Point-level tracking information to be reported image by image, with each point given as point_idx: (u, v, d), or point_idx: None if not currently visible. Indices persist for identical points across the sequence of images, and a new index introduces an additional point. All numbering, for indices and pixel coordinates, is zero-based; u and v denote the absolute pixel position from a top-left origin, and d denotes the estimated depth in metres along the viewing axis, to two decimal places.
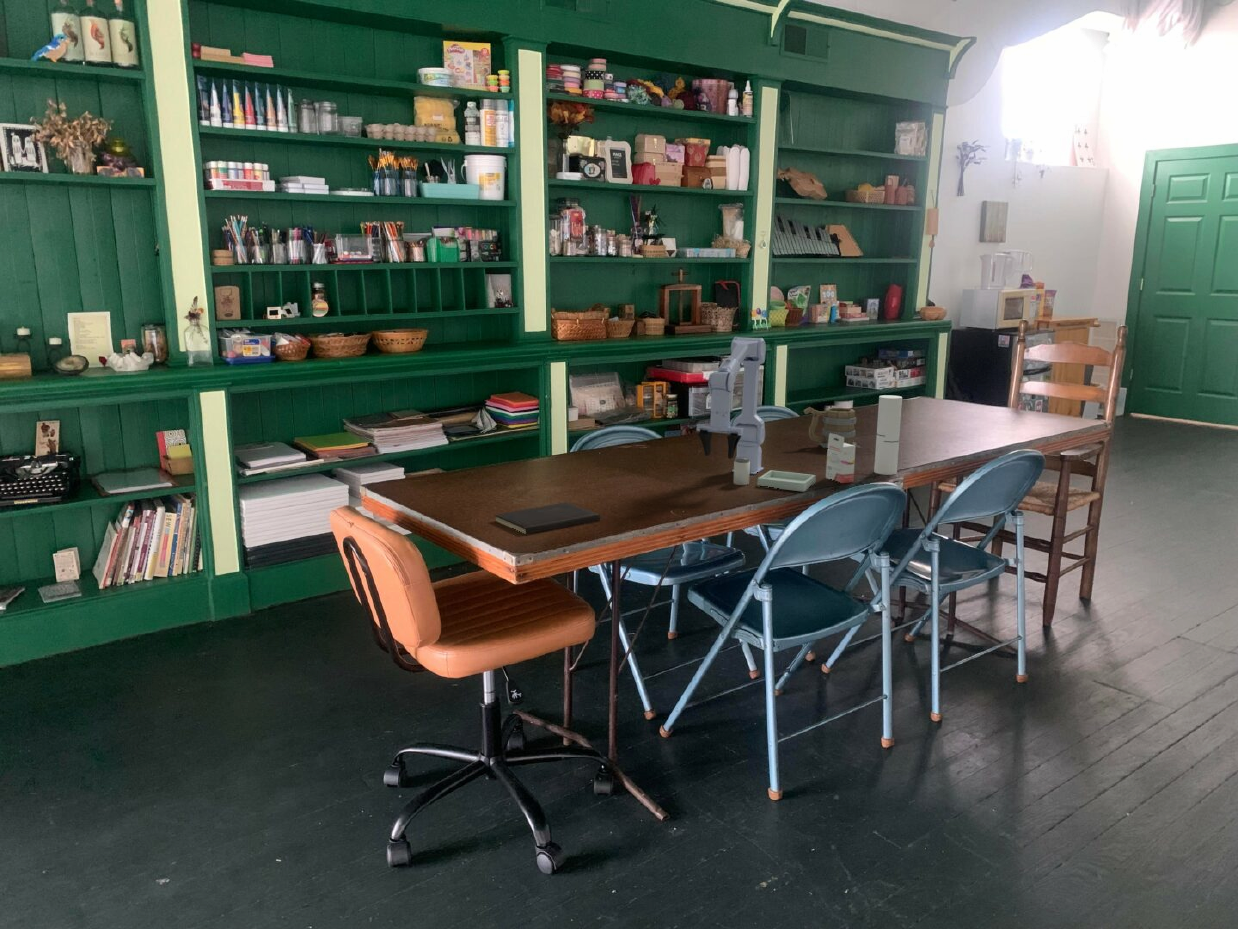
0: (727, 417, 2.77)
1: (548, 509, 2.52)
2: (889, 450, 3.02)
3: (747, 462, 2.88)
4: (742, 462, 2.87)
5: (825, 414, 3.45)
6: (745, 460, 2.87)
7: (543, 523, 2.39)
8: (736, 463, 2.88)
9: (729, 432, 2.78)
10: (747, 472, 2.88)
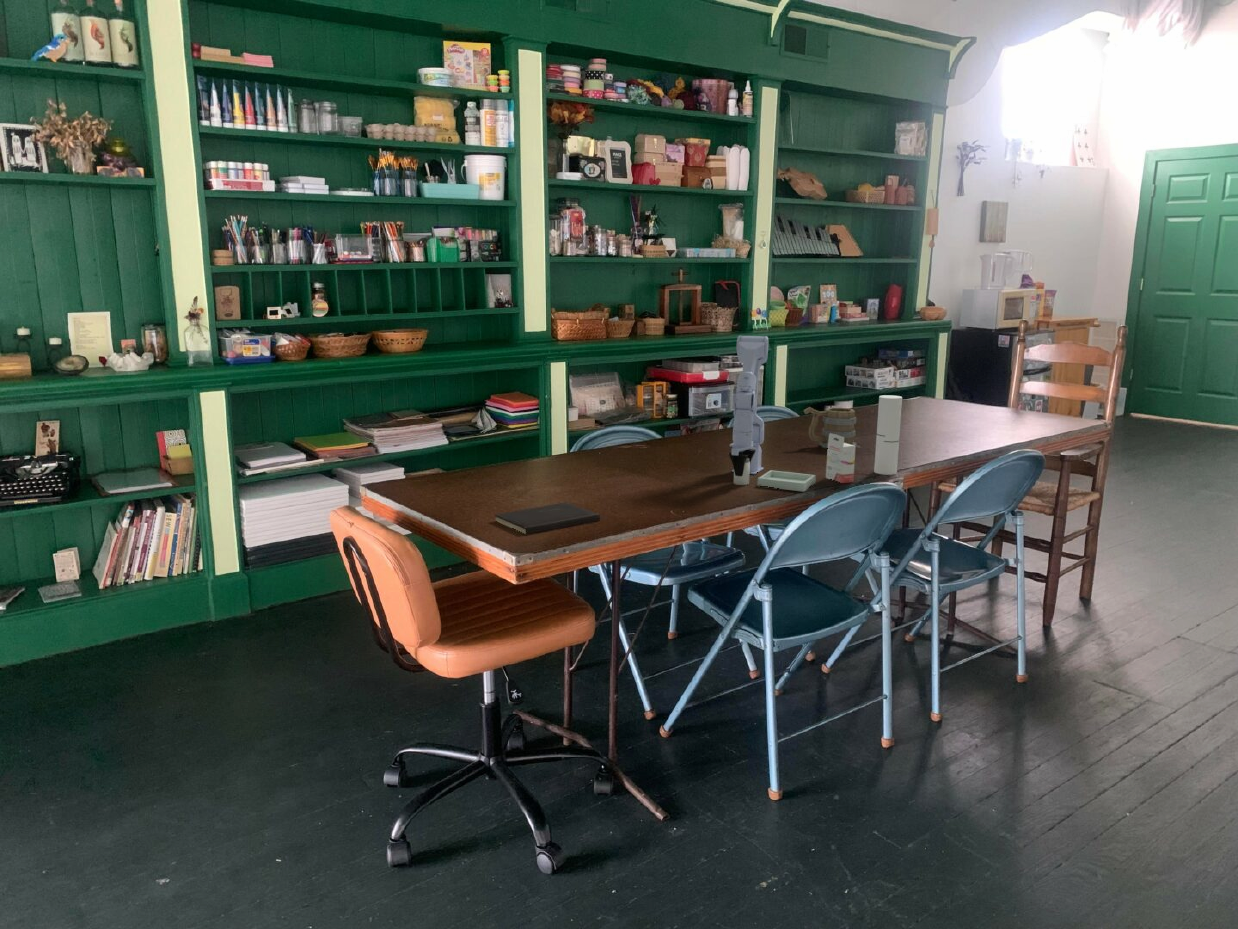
0: (737, 436, 2.86)
1: (548, 509, 2.53)
2: (889, 450, 3.02)
3: (747, 462, 2.88)
4: None
5: (825, 414, 3.45)
6: None
7: (543, 523, 2.39)
8: None
9: None
10: (747, 472, 2.88)
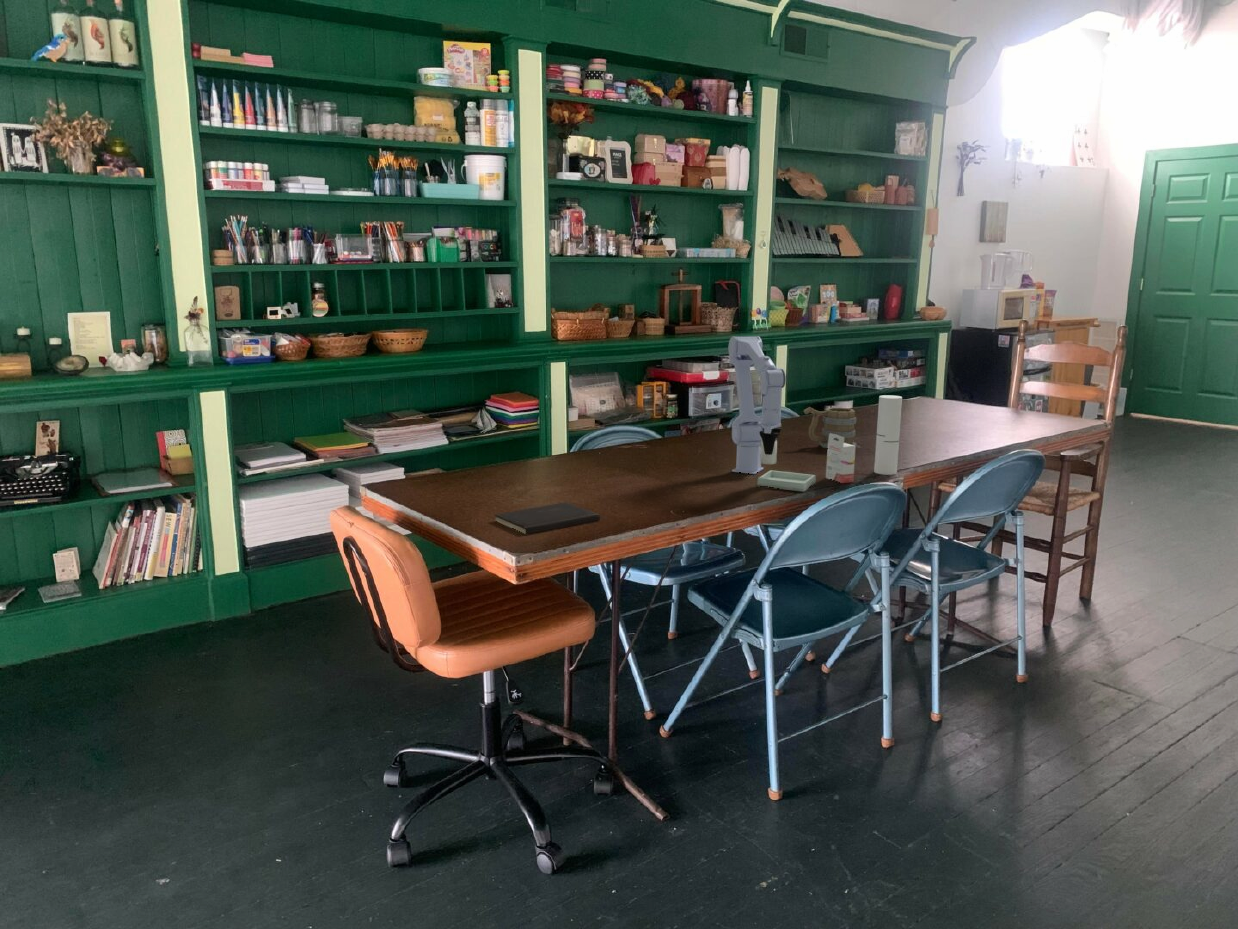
0: (767, 414, 2.83)
1: (548, 509, 2.53)
2: (889, 450, 3.02)
3: (775, 441, 2.86)
4: None
5: (825, 414, 3.45)
6: None
7: (543, 523, 2.39)
8: None
9: None
10: (775, 451, 2.86)
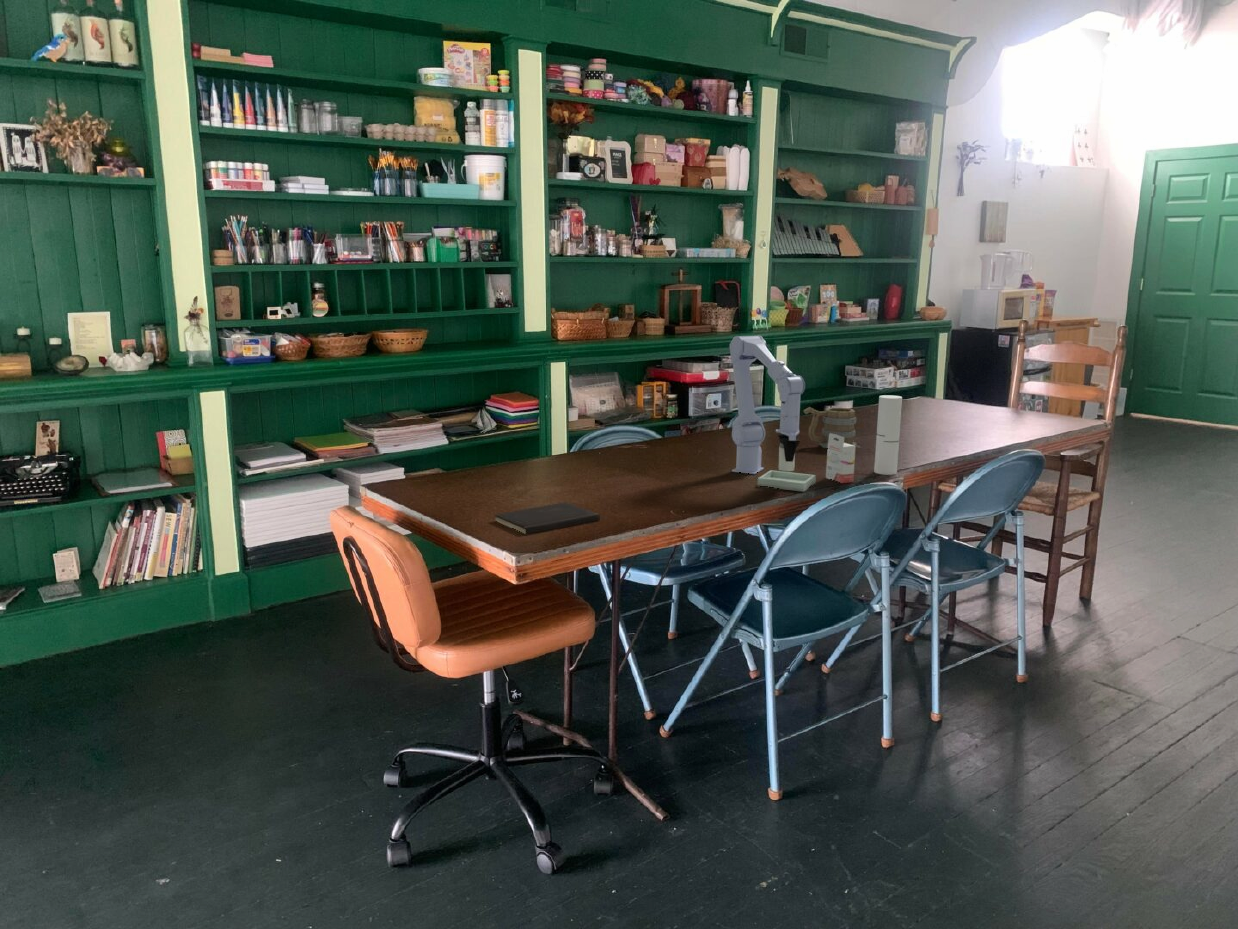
0: (788, 421, 2.83)
1: (548, 509, 2.53)
2: (889, 450, 3.02)
3: None
4: None
5: (825, 414, 3.45)
6: None
7: (543, 523, 2.39)
8: None
9: None
10: (794, 457, 2.87)
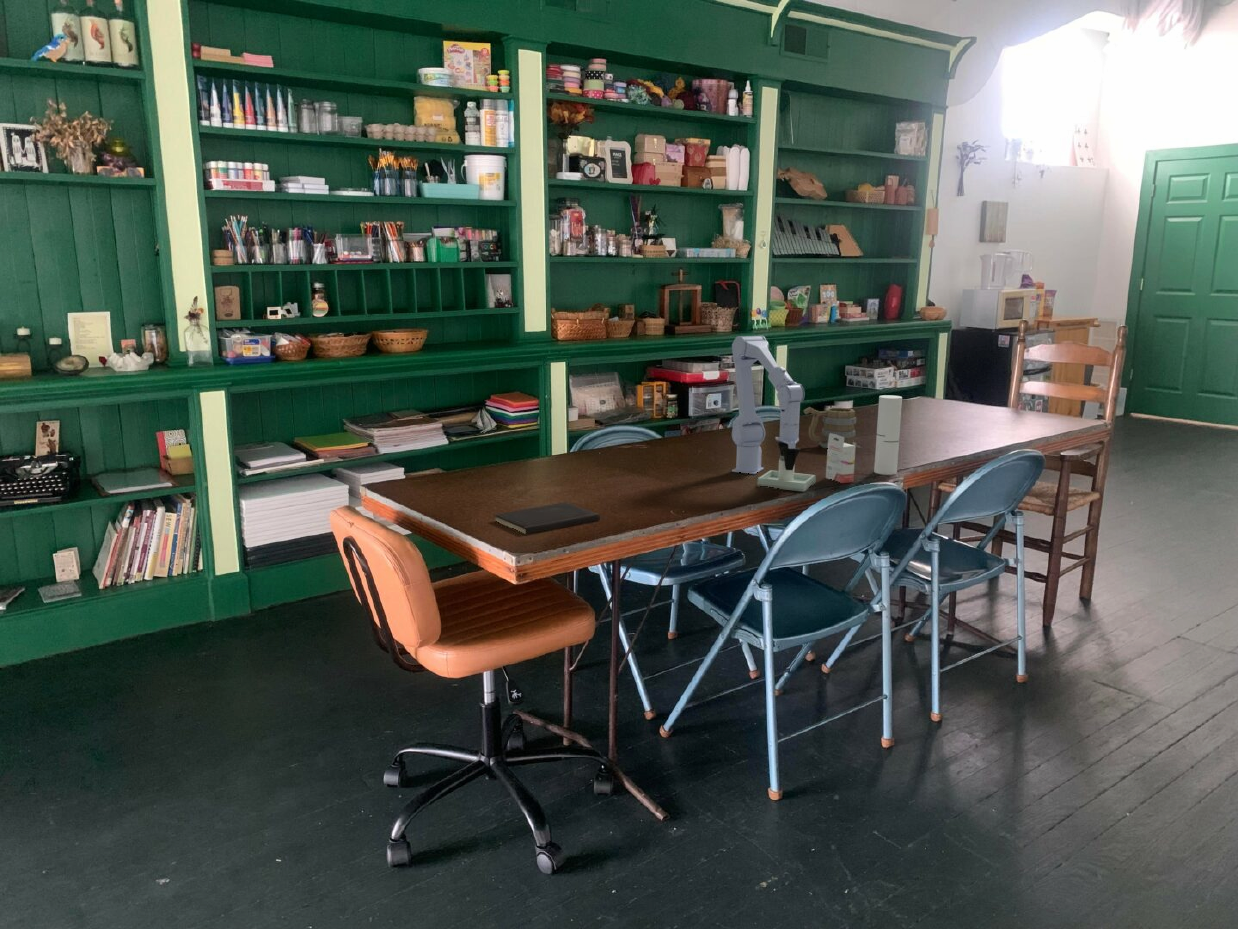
0: (788, 429, 2.83)
1: (548, 509, 2.53)
2: (889, 450, 3.02)
3: None
4: None
5: (825, 414, 3.45)
6: None
7: (543, 523, 2.39)
8: (784, 462, 2.86)
9: None
10: None
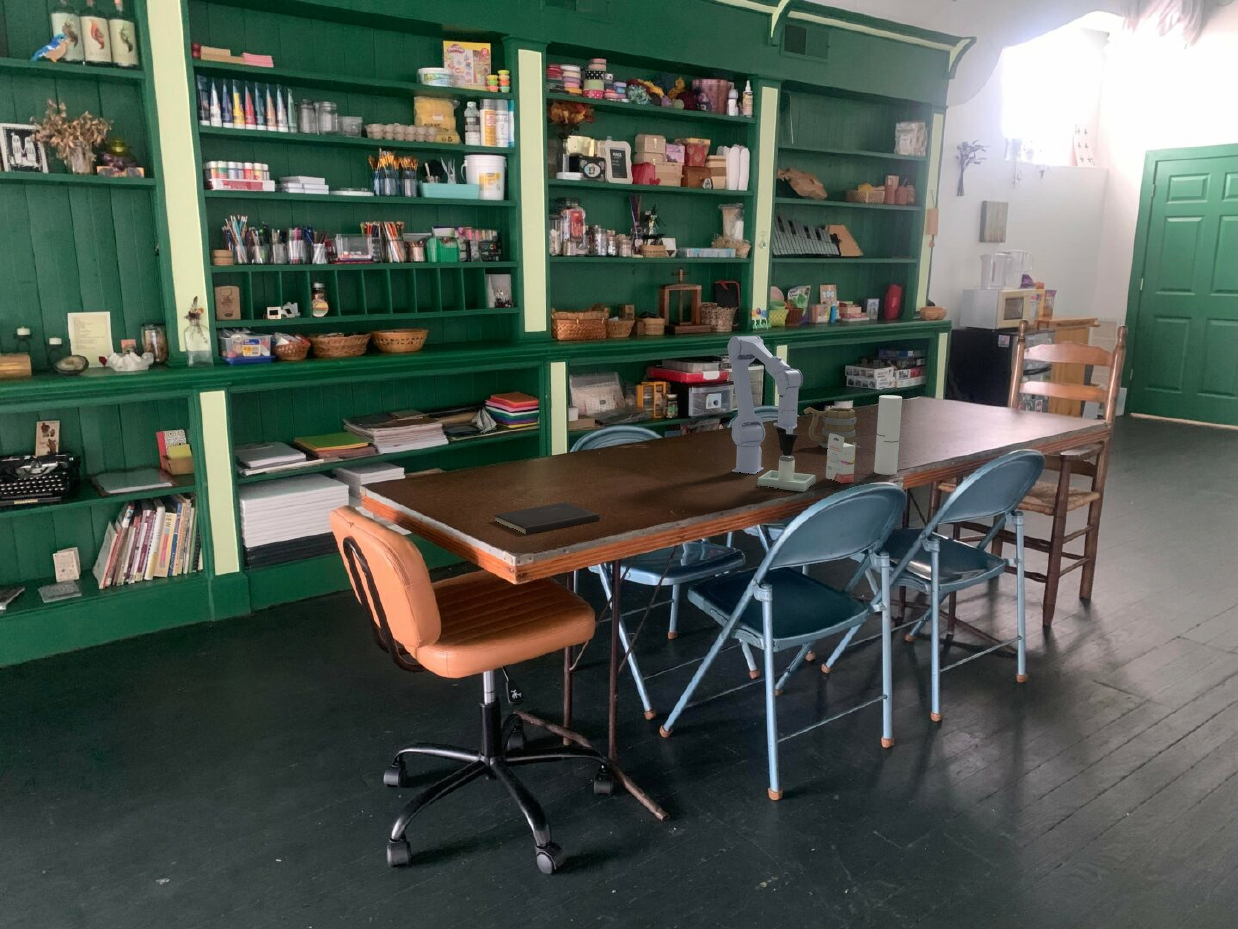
0: (786, 415, 2.83)
1: (547, 509, 2.53)
2: (889, 450, 3.02)
3: (794, 460, 2.87)
4: (790, 461, 2.86)
5: (825, 414, 3.45)
6: (792, 458, 2.86)
7: (543, 523, 2.39)
8: (784, 462, 2.86)
9: None
10: None
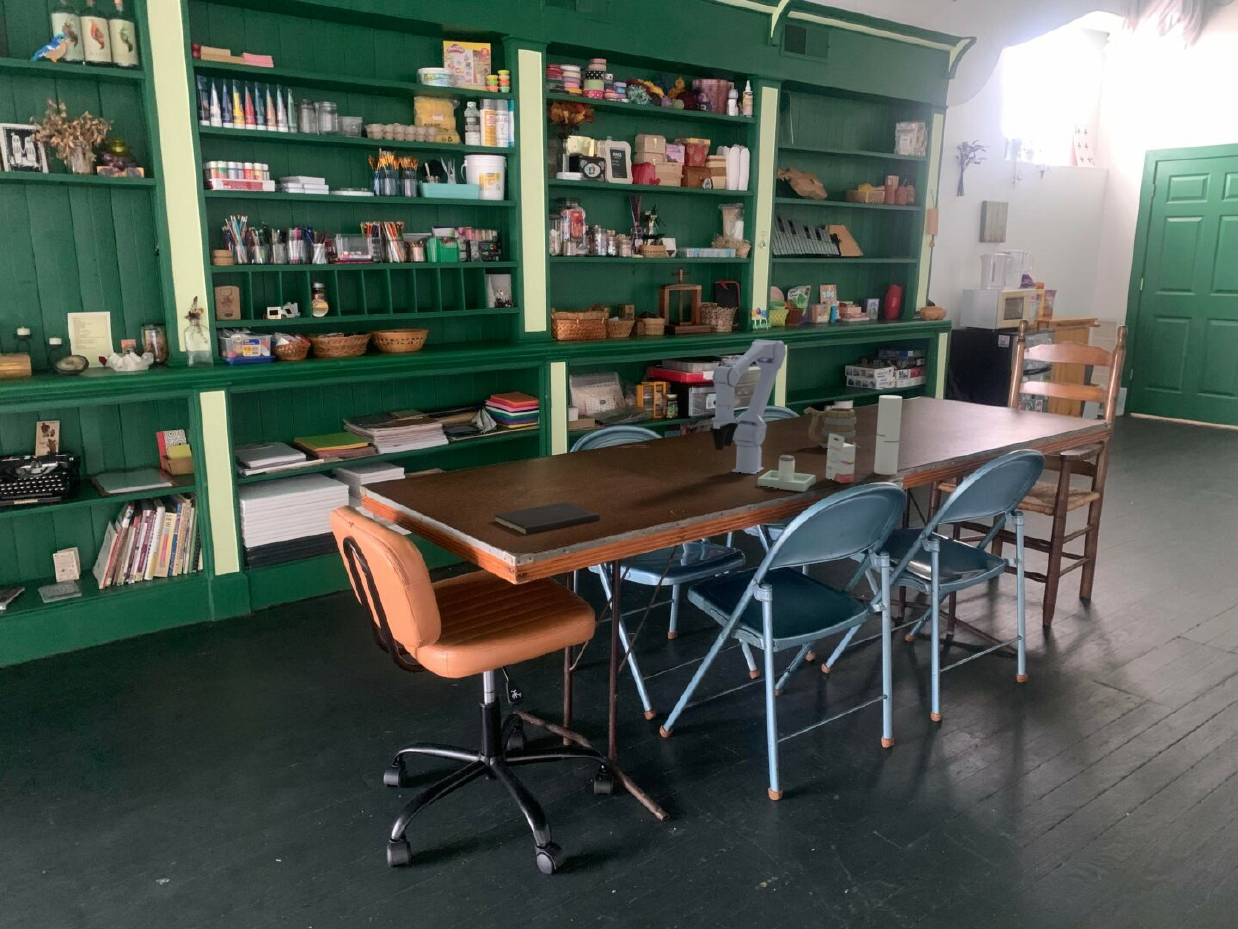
0: (719, 410, 2.90)
1: (547, 509, 2.53)
2: (889, 450, 3.02)
3: (794, 460, 2.87)
4: (790, 461, 2.86)
5: (825, 414, 3.45)
6: (793, 458, 2.86)
7: (543, 523, 2.39)
8: (784, 462, 2.86)
9: None
10: None
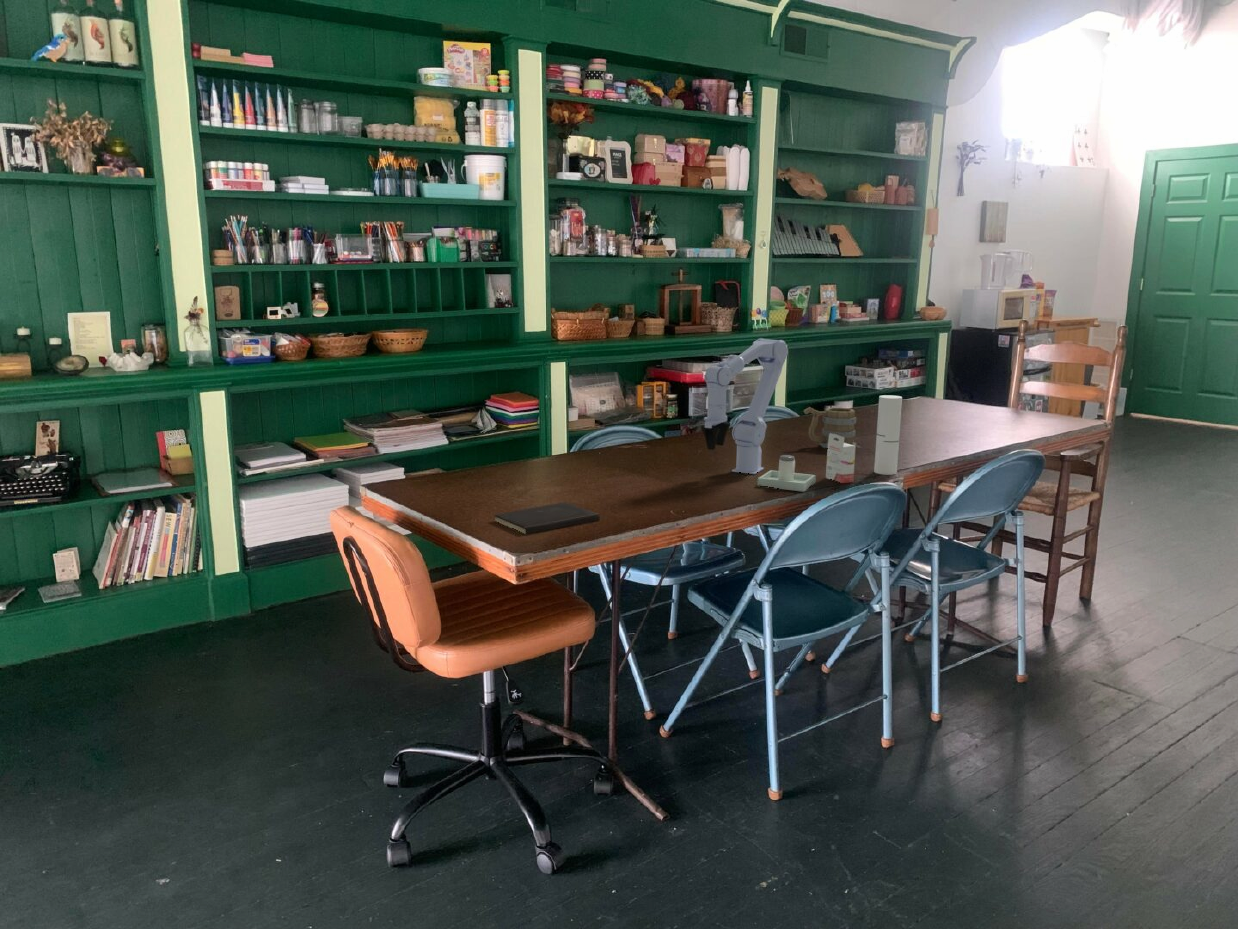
0: (711, 410, 2.91)
1: (547, 509, 2.53)
2: (889, 450, 3.02)
3: (794, 460, 2.87)
4: (790, 461, 2.86)
5: (825, 414, 3.45)
6: (793, 458, 2.86)
7: (543, 523, 2.39)
8: (784, 462, 2.86)
9: None
10: None
